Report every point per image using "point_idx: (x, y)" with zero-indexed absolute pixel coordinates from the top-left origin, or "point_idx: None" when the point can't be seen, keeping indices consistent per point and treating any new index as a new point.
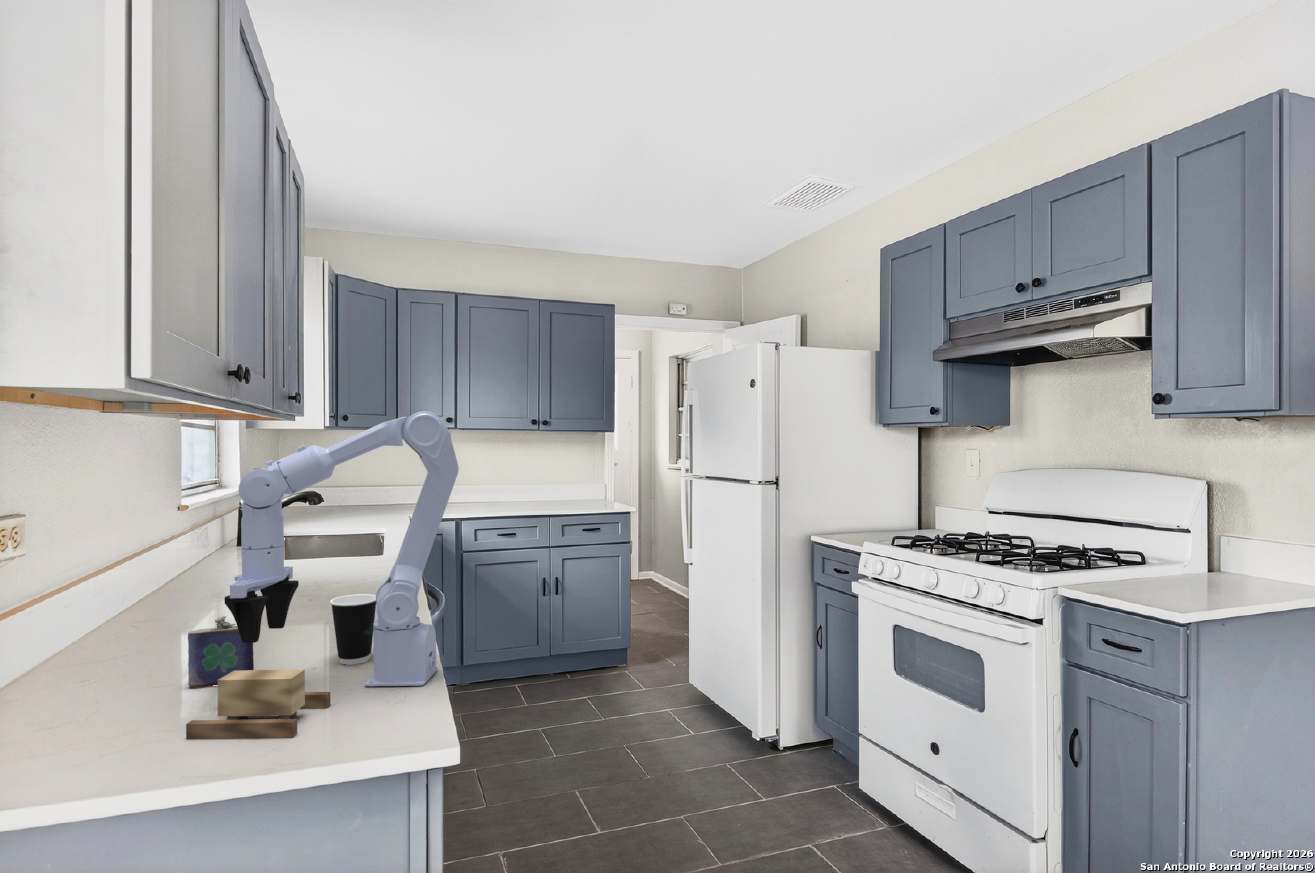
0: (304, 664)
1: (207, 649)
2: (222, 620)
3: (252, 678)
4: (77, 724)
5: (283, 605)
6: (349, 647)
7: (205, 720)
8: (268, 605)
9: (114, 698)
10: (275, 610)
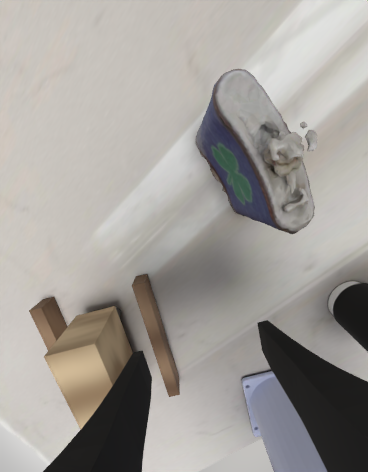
0: (327, 238)
1: (224, 149)
2: (285, 157)
3: (71, 400)
4: (18, 93)
5: (303, 418)
6: (347, 326)
7: (47, 324)
8: (299, 375)
9: (124, 34)
10: (288, 380)
